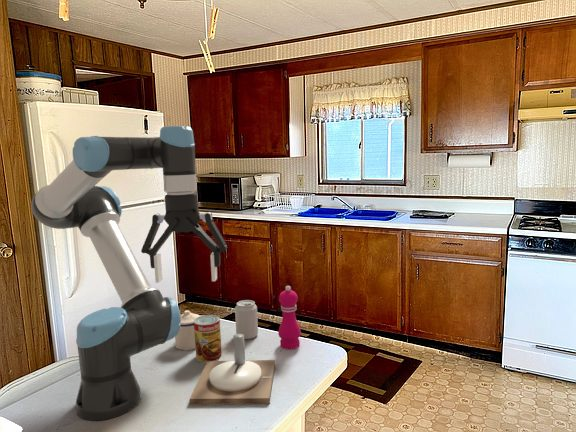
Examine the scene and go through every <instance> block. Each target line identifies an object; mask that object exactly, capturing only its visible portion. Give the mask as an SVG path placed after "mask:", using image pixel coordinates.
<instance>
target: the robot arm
mask: <svg viewBox="0 0 576 432" xmlns="http://www.w3.org/2000/svg"><path fill="white" fill-rule="evenodd" d="M73 143H74V144H73V147H72V160H71V162H70V163H68V165H67V166H66V167H65V168H64V169H63V170H62V171H61V172H60V173H59V174H58V176H57V177H55V178H54V180H53V181H52V182H50V184H47V185H44V186H42V187H41V188H40V189H39V190H38V191H37V192H36V193H35V194H34V195H33V197H32V199H31V202H30V203H31V204H30V205H31V212H32V214H33V216H34V217H35V219H36V220H37V221H39V222H40V223H41V224H42V225H44V226H46V227H49V228H52V229H57V230H62V229H63V230H65V229H66V230H67V229H73V228H74V229H75V228H78V230H79V232H80V233H81V235H82V236H84V237H86V238H89V239H90V241H91V243H92V245H93V247H94V250H95V251H96V253H97V255H98V257H99V258H100V261H101V263H102V265H103V267H104V268H105V271H106V274H107V275H108V277H109V279H110V281H111V283H112V285H113V287H114V289H115V291H116V294H117V295H118V297H119V298H120V301H121V305H120V306H114V307H109V308H101V309H99V310H96V311H93V312H91V313H89V314H88V315H86V316H84V317H83V318H82V319H81V320H80V321H79V322H78V324H77V326H76V340H75V342H76V347H77V353H78V354H77V355H78V362H79V371H80V384H79V388H78V393H77V395H76V399H75V400H76V401H75V410H76V414H77V415H78V416H77V417H80V418H81V419H83V420H85V421H104V420H109V419H112V418H116V417H119V416H121V415H124V414H126V413H127V412H129V411H131V410H132V409H133V408H135V407H136V406H137V404H138V403H140V400H141V398H142V397H141V396H142V394H141V387H140V385H139V383H138V380H137V378H136V376H135V374H134V371H133V370H132V365H131V364H132V363H131V357H133V356H135V355H137V354H139V353H142V352H145V351H147V350H149V349H152V348H154V347H157V346H159V345H163V344H166V342H168V341H170V340H173V339H175V336H176V335H177V334H178V332H179V329H180V325H181V315H182V314H181V311H180V308H179V305H178V303H177V301H176V300H175V298H172V297H169V296H165V297H164V296H163V294H162V292H161V291H160V290H159V289H158V288H155V287H152V286H151V284H150V282H149V280H148V279H147V276H146V274H145V273H144V270H143V269H142V267H141V265H140V263H139V261H138V260H137V258H136V256H135V254H134V253H133V250H132V249H131V247H130V245H129V242H128V241H127V239H126V237H125V235H124V234H123V232H122V230H121V228H120V226H119V224H120V221H121V216H122V212H123V209H122V206H121V200H120V198H119V195H118V194H117V192H115V191H114V190H113V189H112V188H110V187H108V186H106V185H105V186H103V185H101V186H98V184H99V183H100V182H101V181H102V179H104V178H105V177H107V176H108V175H109V174H110V173H111V172H112V171H123V170H145V169H146V170H151V169H162V177H163V191H164V193H166V194H165V195H164V207H165V214H161V213H155V214H153V215H152V217H151V218H152V219H151V220H152V222H151V226H150V228H149V230H148V233H147V236H146V238H145V239H144V243H143V245H142V248H141V251H140V252H141V253H142V254H147V255H148V256H149V260H150V261H149V263H150V268H151V269H154V277H155V279H154V280H155V283H156V284H157V283H160V282H162V281H163V270H162V269H163V268H162V255H161V253H159V252H158V251H160V249H161V248H162V247H163V245H164V244H165V243H166V241H167V240H168V239H169V237H170V236H171V235H172V234H173V233H176V234H179V233H190V232H192V233H193V234H194V235H196V237H198V238H199V239H200V240H201V241H202V242H203V243H204V244H205V245H206V247H207V248H208V249H209V250H210V251H211V254H210V272H211V282H216V281H217V280H218V267H220V266H221V253H223V252H225V251H226V250H227V249H228V245H227V243H226V240H225V239H224V237H223V236H222V234H221V232H220V230H219V228H218V227H217V225H216V223H215V222H214V218H213V214H212V212H211V211H208V212H206V213H205V212H204V213H200V212H199V200H198V198H199V197H198V194H197V189H198V185H197V184H198V183H197V174H196V173H197V172H196V169H197V168H196V151H195V150H196V148H195V146H196V143H195V138H194V131H193V129H192V127H190V126H186V125H167V126H162V127H161V128H160V129H159V136H156V137H155V136H153V137H147V136H146V137H139V136H138V137H135V136H134V137H133V136H132V137H131V136H130V137H129V136H126V137H125V136H123V137H122V136H98V135H91V136H81V137H79V138H77V139H76V140H75V141H74V142H73ZM200 220H202V222H204V223H205V224H206V226H207V228H208V230H209V232H210V234H211V235H212V237H213V239H214V240H215V241H214V240H213V239H212V238H211V237H210V236H209V235H208V233H206V231H204V229H203V228H202V226H201V225H200V224H199V222H200ZM164 221H165V222H166V224H167V227H166V229H164V231H163V233H162V234H161V236H160V237H159V238H158V240H157V241H156V242H155V243H154V241H155V238H156V235H157V233H158V231H159V229H160V226H161V224H163V222H164ZM153 243H154V245H153Z"/></svg>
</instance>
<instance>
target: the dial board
mask: <svg viewBox="0 0 576 432" xmlns="http://www.w3.org/2000/svg"><path fill="white" fill-rule="evenodd" d="M228 361H229V360H216V361H207V362H205V363H206V364H205V365H204V367H203V370H202V372H201V374H200V376H199V378H198V380H197V382H196V385H195V387H194V389H193V391H192V393H191V395H190V397H189V405H192V406H193V405H270V402H271V397H272V388H273V384H274V383H273V382H274V376H275V375H274V374H275V368H276V360H275V359H268V360H267V359H265V360H261V359H260V360H256V359H255V360H254V359H252V360H251V359H250V360H249V359H248V360H246V359H245V361H251V362H254V363H256V364H257V365H259V366H260V368H261V379H260V381H259V382H258V383H257V384H256V385H254V386H253V387H251V388H248V389H245V390H241V391H234V392H228V391H221V390H218V389H216V388H214V387H213V386H212V385H211V384H210V378H209V374H210V372H211V370H212V369H213V368H214V367H216V366H218V365H220V364H222V363H225V362H228Z"/></svg>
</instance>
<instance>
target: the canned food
mask: <svg viewBox="0 0 576 432" xmlns="http://www.w3.org/2000/svg"><path fill="white" fill-rule="evenodd" d="M221 333H222V332H221V320H220V316H219V315H216V314H205V315H200V317H197V318H196V319H194V334H195V349H194V350H195V359H196V361H197V362H201V363H207V361H219V360H220V359H221V358H222V356H223V354H222V335H221Z"/></svg>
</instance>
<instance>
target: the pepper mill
mask: <svg viewBox="0 0 576 432" xmlns="http://www.w3.org/2000/svg"><path fill="white" fill-rule="evenodd" d="M278 299H279V300H278V301H279V303H280V311H282V318H281V319H282V320H281V323H280V325H279V328H278V337H279V338H280V340H279V342H280V348H282V349H283V350H294V349H295V350H296V349H297V348H299V347H300V344H301V343H300V339H299V338H300V336H301V334H302V333H301V332H302V331H301V327H300V325H299V323H298V321H297V317H296V311H297V309H298V308H297V303H298V300H299V298H298V294H297V293H296V291H294V290H292V287H291V286H290V285H286V286H285V290H283V291H281V292H280V294H279V297H278Z"/></svg>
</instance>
